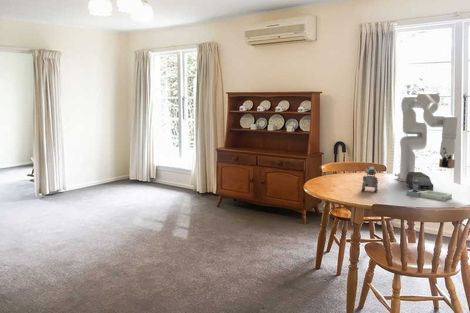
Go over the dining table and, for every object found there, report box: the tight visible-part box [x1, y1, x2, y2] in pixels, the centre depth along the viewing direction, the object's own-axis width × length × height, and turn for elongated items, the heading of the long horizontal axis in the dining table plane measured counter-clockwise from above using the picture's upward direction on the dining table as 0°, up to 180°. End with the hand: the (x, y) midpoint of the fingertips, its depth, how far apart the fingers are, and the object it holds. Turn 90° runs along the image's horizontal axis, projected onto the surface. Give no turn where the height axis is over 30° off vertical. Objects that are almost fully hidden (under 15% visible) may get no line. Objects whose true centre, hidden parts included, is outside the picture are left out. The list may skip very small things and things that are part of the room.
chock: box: [438, 158, 456, 169], centre depth 253 cm, size 7×4×5 cm, turn 41°
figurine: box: [361, 165, 379, 193], centre depth 263 cm, size 9×12×15 cm
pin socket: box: [406, 188, 423, 198], centre depth 252 cm, size 7×7×2 cm
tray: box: [418, 190, 453, 202], centre depth 247 cm, size 14×11×2 cm
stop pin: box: [412, 180, 419, 192], centre depth 252 cm, size 4×4×9 cm
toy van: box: [405, 171, 434, 191], centre depth 268 cm, size 11×25×10 cm, turn 173°
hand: (446, 166), depth 253 cm, fingers closed on chock, 4 cm apart
